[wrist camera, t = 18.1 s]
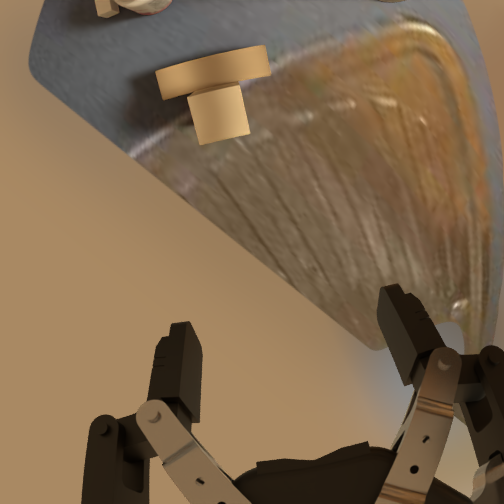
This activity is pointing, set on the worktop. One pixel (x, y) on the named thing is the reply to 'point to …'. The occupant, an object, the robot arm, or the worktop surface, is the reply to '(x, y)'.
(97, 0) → the bay
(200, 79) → the scraper
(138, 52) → the worktop surface
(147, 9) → the pill bottle
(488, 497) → the robot arm
